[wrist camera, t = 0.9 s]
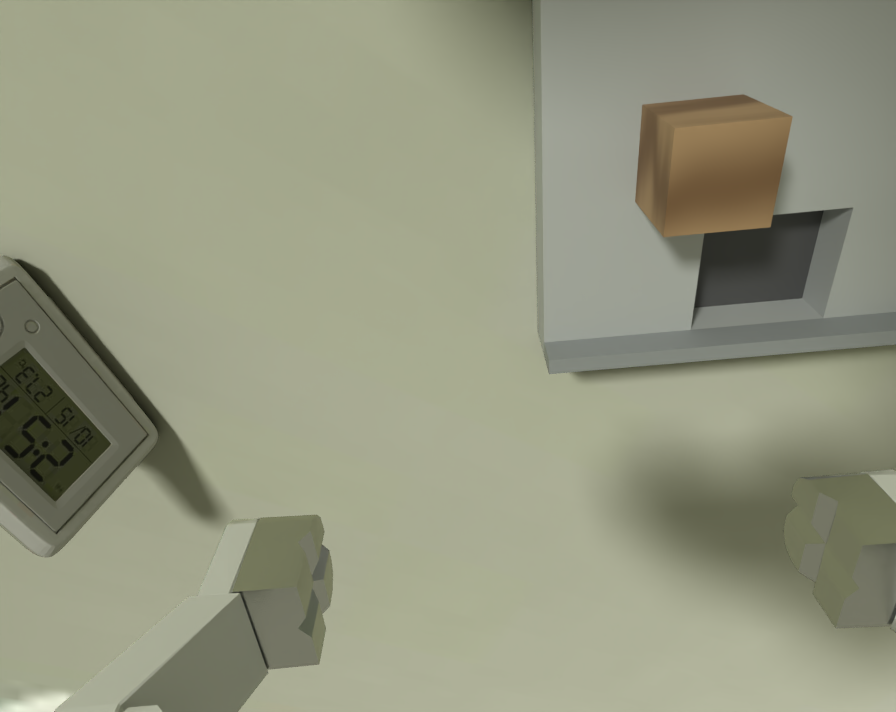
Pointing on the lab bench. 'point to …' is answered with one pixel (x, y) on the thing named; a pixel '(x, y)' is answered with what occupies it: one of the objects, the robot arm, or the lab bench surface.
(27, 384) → the digital clock
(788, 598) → the lab bench surface
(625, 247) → the box
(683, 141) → the walnut block
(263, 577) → the robot arm
